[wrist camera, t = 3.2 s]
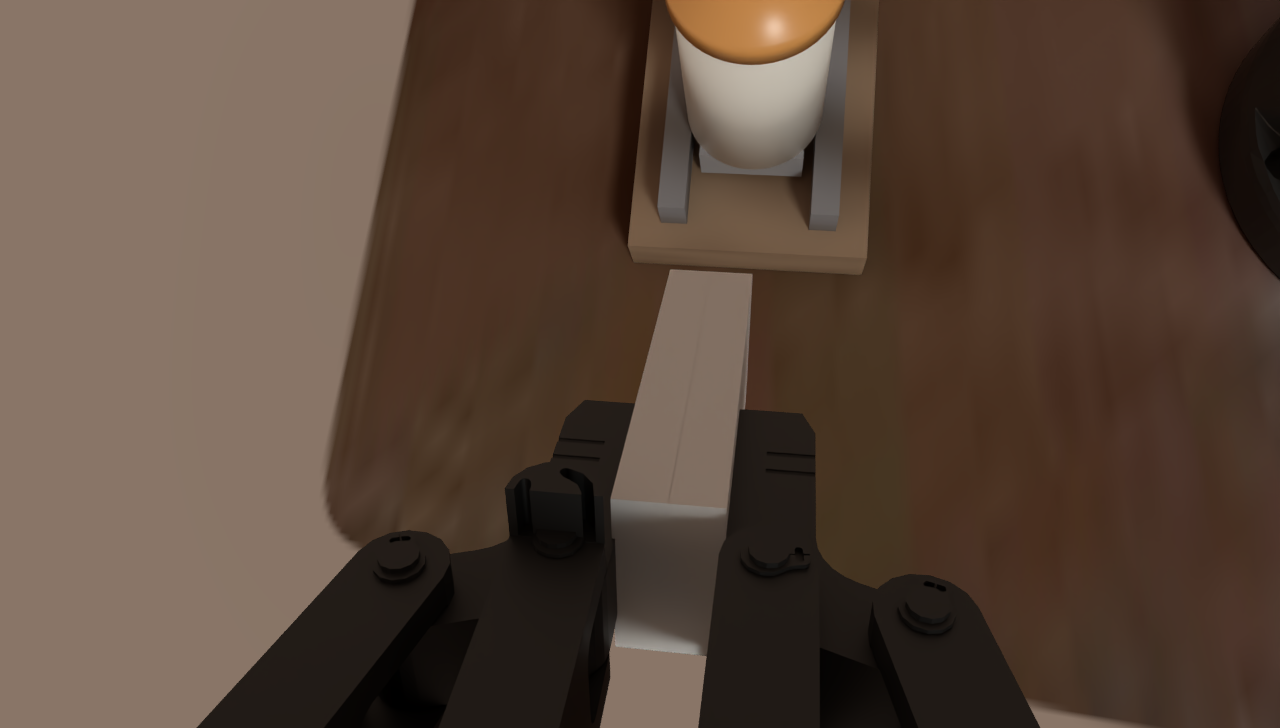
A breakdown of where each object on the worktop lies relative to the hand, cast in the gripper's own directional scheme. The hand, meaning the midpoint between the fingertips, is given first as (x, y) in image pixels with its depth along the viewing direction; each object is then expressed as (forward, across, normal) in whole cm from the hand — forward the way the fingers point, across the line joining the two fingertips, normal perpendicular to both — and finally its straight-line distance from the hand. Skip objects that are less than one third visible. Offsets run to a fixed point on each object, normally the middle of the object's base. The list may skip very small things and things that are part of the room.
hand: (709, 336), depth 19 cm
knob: (+22, 0, -3) cm, 22 cm away
